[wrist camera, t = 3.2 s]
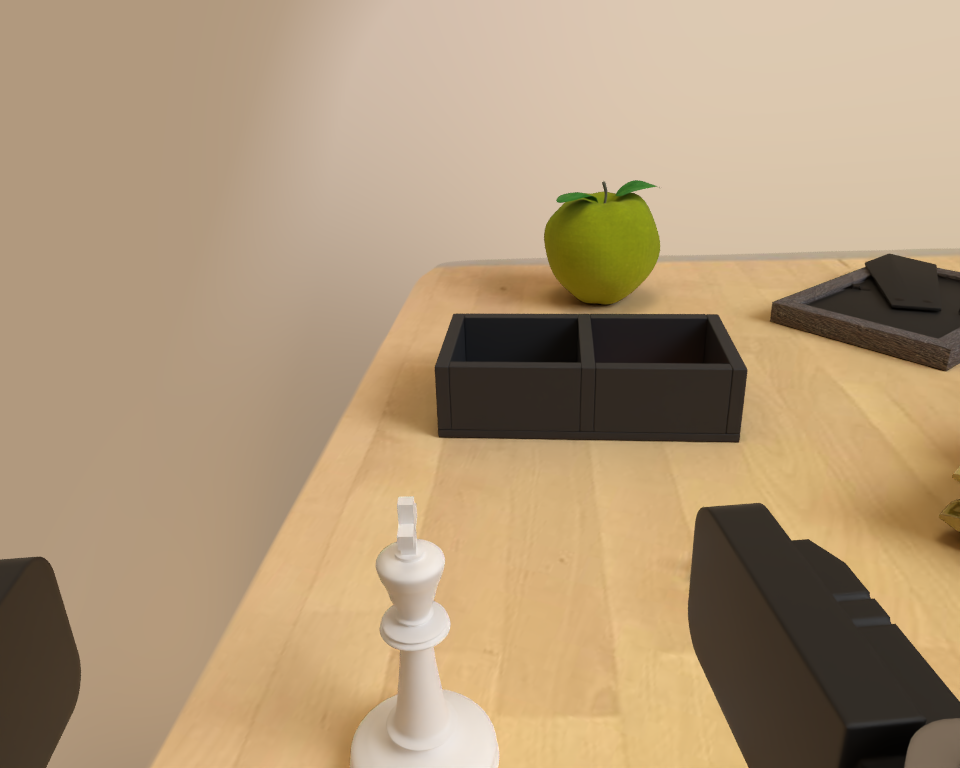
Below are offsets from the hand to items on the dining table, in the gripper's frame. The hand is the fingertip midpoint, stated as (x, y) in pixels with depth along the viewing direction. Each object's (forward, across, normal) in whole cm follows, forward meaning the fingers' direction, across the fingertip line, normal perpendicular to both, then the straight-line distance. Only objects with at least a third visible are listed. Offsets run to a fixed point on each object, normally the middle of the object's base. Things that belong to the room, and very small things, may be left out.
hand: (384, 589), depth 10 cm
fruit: (+57, -16, +16) cm, 61 cm away
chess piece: (+11, 0, +16) cm, 20 cm away
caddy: (+37, -10, +16) cm, 41 cm away
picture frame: (+49, -39, +16) cm, 65 cm away
